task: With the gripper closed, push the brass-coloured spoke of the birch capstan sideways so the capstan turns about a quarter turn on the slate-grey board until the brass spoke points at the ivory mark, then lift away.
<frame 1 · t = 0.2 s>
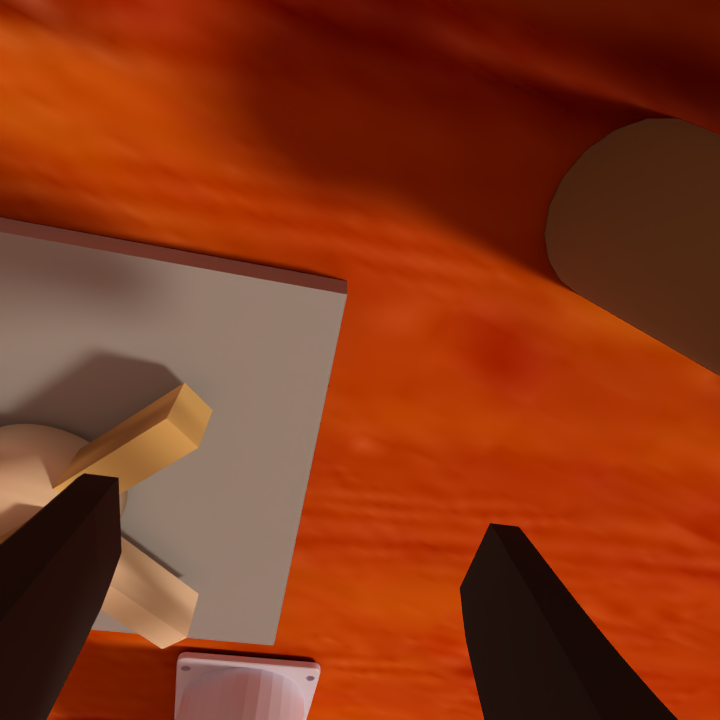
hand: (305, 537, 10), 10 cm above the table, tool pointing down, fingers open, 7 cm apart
cork: (633, 216, 17), on the table
capstan: (20, 525, 18), point 4 cm above the table, hinge at 0.0°
stand board: (66, 459, 21), on the table
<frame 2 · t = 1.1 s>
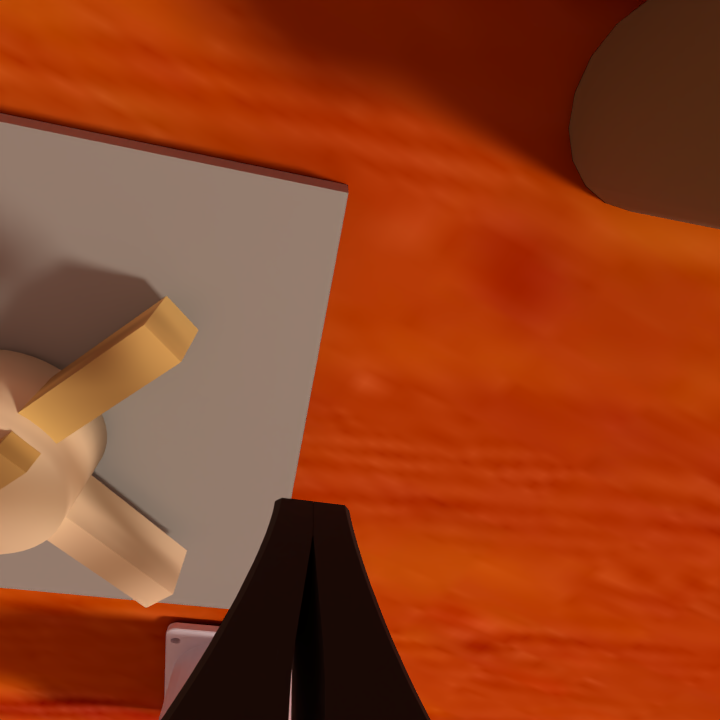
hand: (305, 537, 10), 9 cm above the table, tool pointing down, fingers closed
cork: (667, 108, 15), on the table
stand board: (40, 399, 19), on the table
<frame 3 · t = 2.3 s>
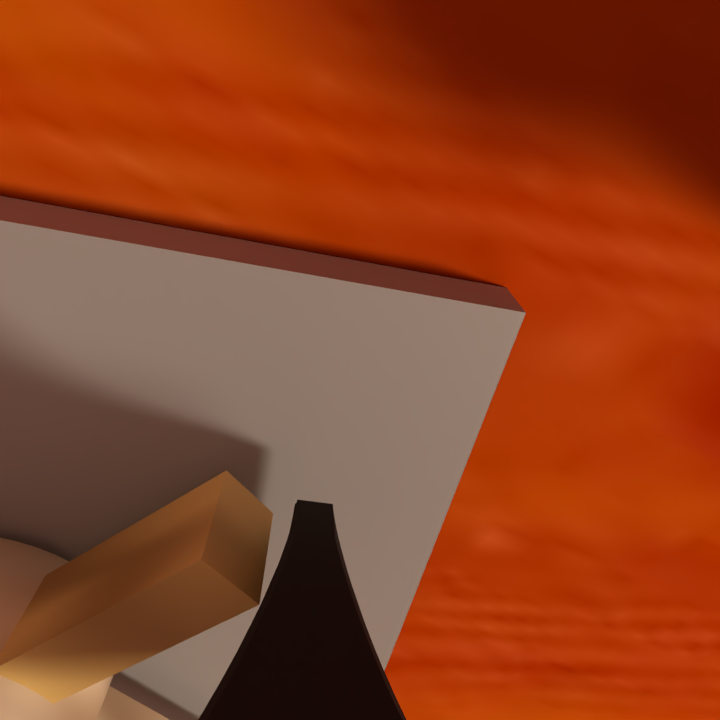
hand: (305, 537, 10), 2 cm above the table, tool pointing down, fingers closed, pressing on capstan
stand board: (32, 566, 14), on the table
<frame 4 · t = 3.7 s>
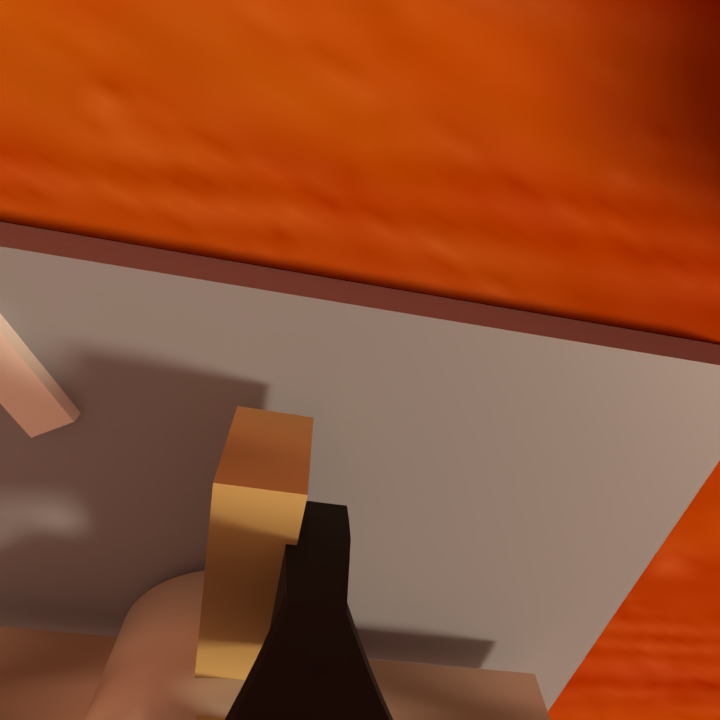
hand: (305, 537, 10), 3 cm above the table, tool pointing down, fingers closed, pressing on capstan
stand board: (248, 594, 15), on the table
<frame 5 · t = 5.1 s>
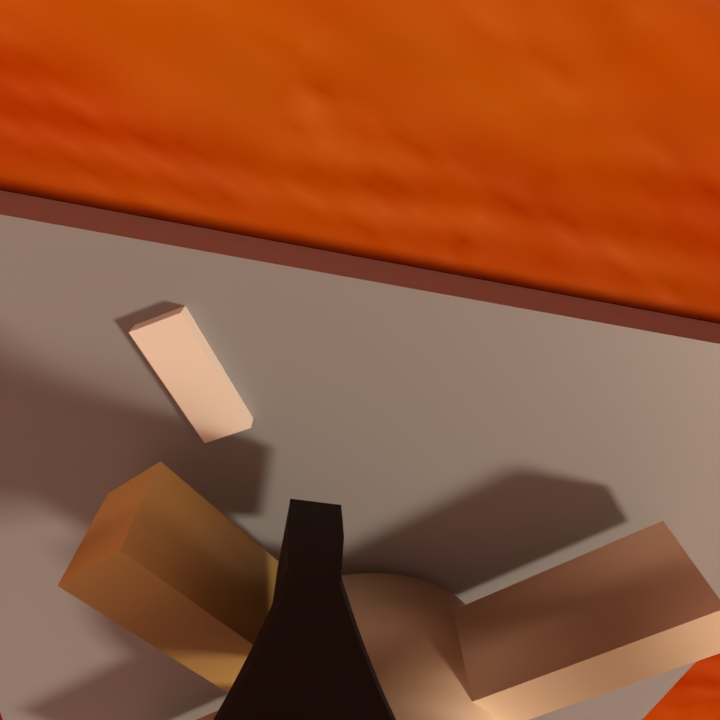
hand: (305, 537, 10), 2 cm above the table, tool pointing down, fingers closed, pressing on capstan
stand board: (363, 595, 15), on the table
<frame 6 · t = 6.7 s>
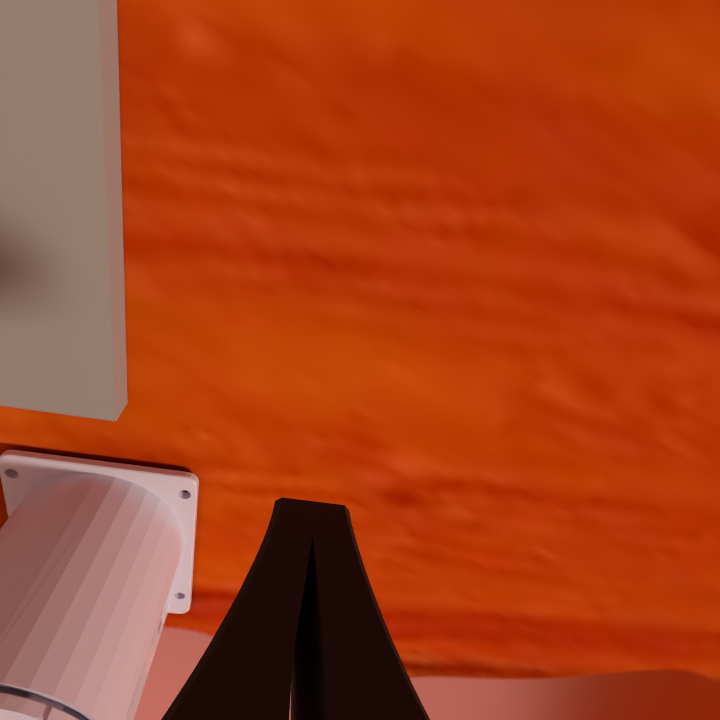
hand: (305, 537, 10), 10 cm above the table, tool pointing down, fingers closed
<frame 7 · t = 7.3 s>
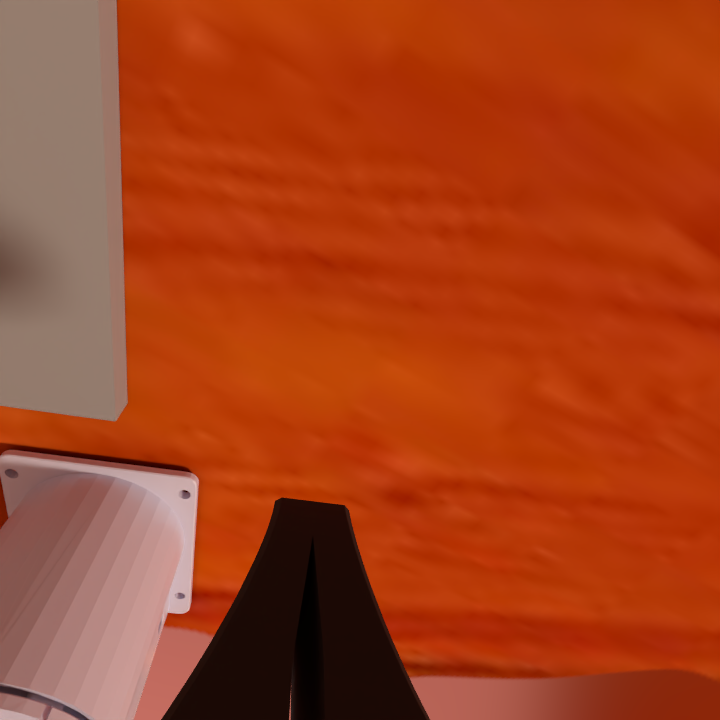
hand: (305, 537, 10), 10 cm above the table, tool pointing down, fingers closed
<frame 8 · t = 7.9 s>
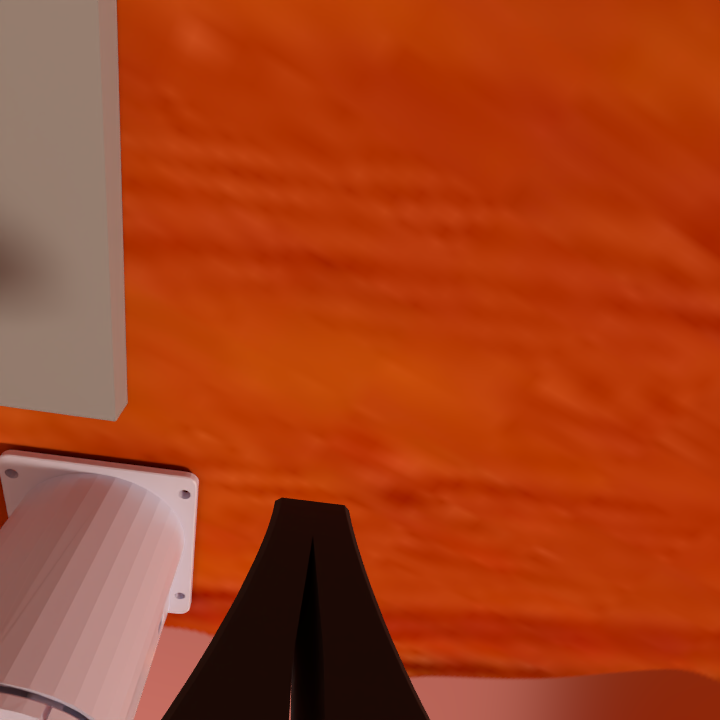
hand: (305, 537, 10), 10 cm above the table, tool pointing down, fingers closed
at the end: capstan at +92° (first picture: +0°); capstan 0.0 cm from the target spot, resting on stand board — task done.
